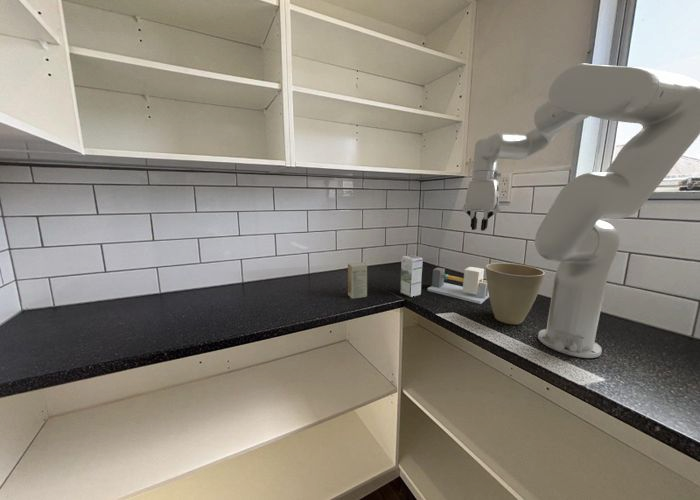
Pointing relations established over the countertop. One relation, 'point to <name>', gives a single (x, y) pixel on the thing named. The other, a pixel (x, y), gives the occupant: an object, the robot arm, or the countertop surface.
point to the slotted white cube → (472, 280)
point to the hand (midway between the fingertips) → (478, 229)
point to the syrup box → (411, 275)
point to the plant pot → (512, 290)
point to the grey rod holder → (456, 287)
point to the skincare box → (357, 280)
